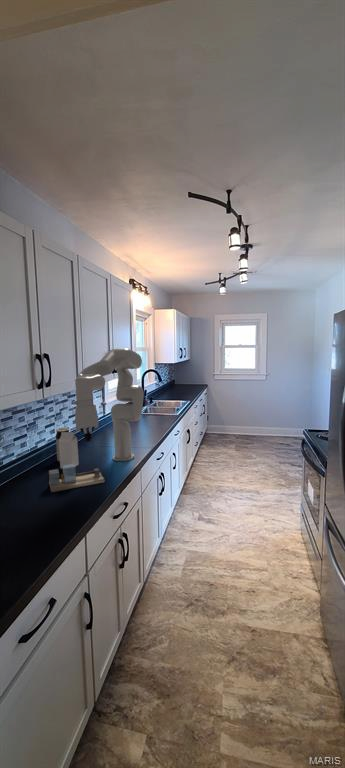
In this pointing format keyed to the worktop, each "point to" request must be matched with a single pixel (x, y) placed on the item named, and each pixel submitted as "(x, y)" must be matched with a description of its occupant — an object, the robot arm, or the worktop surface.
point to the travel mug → (59, 438)
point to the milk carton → (68, 449)
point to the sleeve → (69, 473)
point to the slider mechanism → (81, 480)
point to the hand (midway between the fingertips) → (88, 440)
